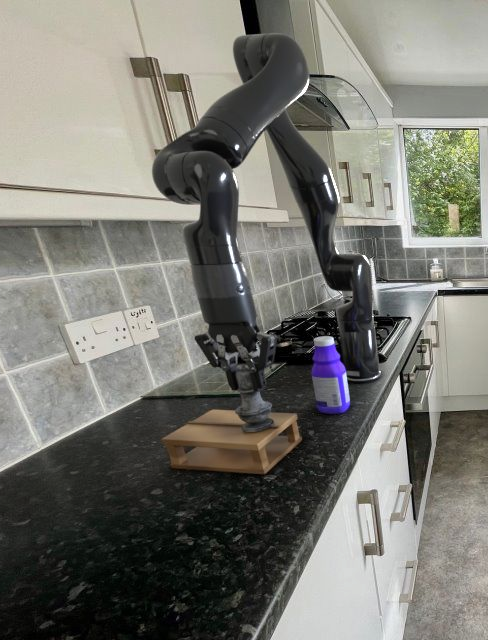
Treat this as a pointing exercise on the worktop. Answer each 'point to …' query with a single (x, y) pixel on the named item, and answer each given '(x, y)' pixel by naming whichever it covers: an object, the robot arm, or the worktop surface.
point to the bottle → (329, 378)
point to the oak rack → (231, 443)
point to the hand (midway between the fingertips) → (249, 389)
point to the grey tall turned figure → (252, 404)
